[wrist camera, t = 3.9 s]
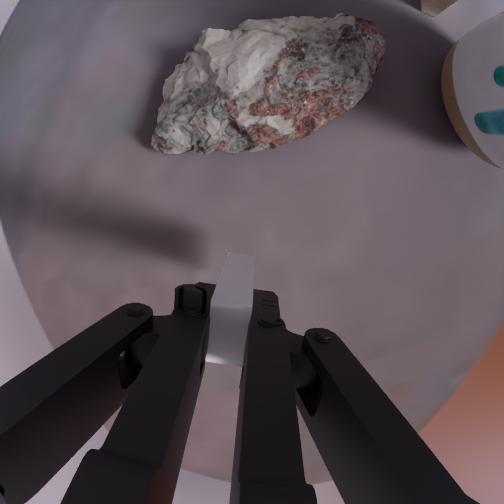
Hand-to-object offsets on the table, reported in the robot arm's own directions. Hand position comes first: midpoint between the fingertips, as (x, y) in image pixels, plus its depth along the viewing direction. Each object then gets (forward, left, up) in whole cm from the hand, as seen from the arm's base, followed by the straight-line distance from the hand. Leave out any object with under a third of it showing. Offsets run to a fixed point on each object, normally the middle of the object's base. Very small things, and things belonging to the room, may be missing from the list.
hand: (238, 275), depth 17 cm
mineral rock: (-11, 0, -4) cm, 12 cm away
